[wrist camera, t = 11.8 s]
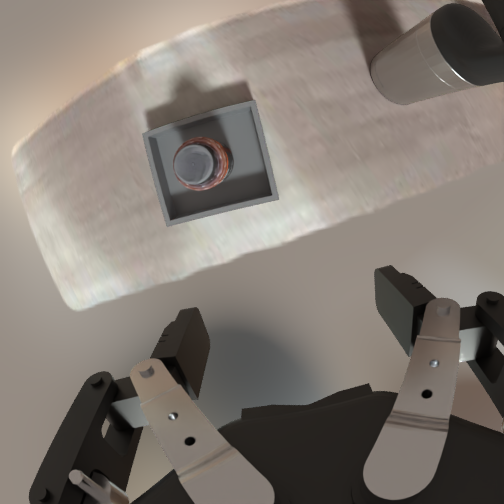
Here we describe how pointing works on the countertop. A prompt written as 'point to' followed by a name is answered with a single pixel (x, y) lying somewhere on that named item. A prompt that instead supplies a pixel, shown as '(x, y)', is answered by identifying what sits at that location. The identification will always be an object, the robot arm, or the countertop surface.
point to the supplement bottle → (202, 163)
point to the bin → (232, 188)
